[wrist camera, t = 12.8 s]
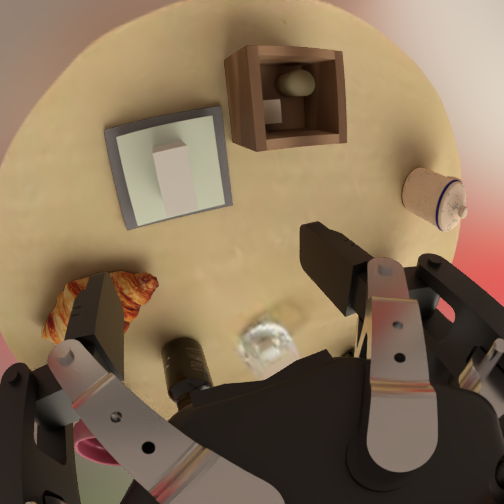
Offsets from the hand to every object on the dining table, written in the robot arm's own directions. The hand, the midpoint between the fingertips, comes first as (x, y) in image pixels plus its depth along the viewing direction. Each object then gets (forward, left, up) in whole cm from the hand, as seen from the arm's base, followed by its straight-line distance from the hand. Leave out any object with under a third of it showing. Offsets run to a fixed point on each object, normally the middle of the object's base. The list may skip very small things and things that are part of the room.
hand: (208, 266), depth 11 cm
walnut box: (-12, -6, -22) cm, 26 cm away
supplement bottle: (+5, +29, -23) cm, 37 cm away
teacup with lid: (-42, +9, -23) cm, 48 cm away
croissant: (+15, +15, -23) cm, 31 cm away
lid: (0, 0, -22) cm, 22 cm away
